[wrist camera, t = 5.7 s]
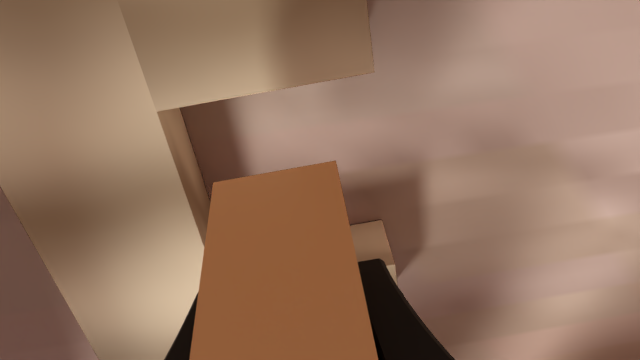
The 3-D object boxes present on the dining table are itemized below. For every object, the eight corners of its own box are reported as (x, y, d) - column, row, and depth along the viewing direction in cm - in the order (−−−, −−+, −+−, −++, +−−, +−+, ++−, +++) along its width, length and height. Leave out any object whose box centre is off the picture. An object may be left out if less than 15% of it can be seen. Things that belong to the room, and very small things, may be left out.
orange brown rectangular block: (359, 305, 16) (414, 582, 10) (257, 323, 16) (254, 609, 10) (335, 160, 13) (392, 424, 8) (213, 182, 14) (175, 461, 8)
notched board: (389, 286, 23) (402, 333, 21) (126, 333, 23) (112, 384, 21) (345, -82, 15) (359, -66, 13) (-48, -10, 15) (-96, 18, 13)
